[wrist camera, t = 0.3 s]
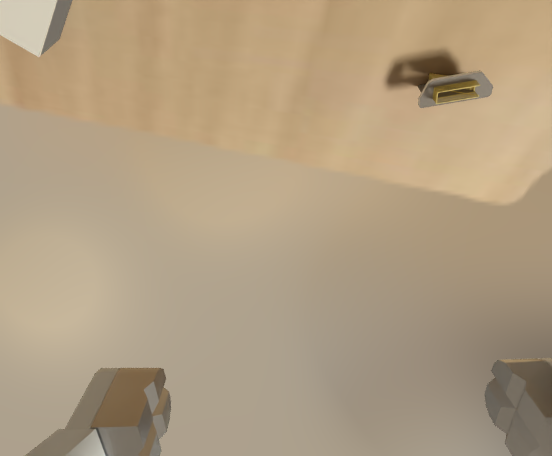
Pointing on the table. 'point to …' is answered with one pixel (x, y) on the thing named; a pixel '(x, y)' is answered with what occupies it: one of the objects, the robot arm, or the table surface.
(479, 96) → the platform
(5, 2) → the socket block
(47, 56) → the table surface
